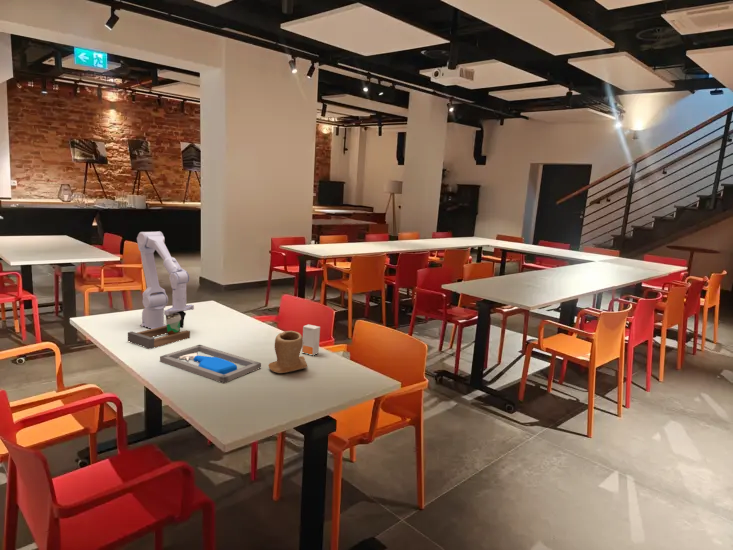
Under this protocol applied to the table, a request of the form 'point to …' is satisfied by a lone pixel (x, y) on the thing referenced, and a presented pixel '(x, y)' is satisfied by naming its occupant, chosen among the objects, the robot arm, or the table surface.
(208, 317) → the table surface
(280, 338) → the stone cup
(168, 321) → the food container
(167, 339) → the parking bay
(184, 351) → the rim
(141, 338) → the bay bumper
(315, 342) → the skincare box
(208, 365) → the spray bottle
